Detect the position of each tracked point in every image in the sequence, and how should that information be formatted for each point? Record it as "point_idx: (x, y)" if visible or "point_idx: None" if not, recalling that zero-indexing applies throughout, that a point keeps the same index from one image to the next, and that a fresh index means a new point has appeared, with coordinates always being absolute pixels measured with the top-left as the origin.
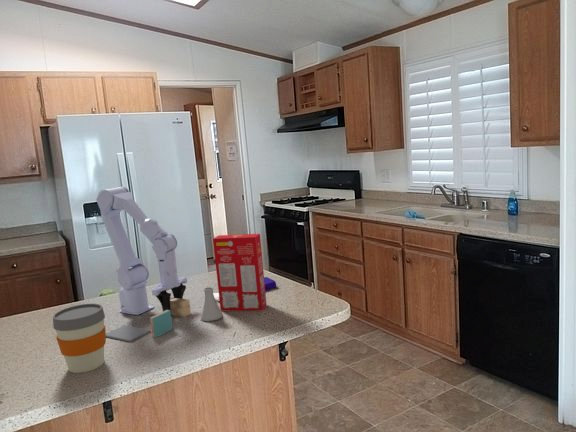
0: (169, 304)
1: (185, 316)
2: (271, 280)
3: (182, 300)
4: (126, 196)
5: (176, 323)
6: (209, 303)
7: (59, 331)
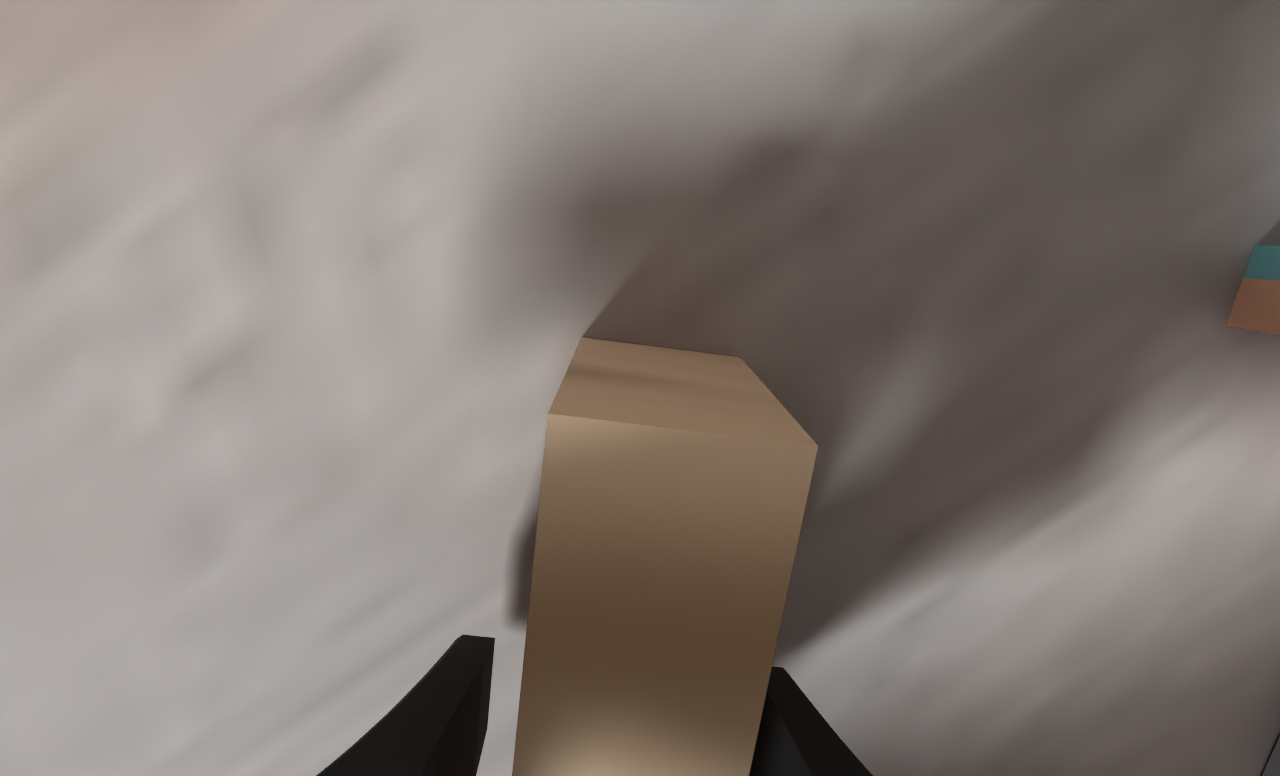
0: (820, 767)
1: (720, 355)
2: None
3: (649, 570)
4: None
5: (1034, 319)
6: None
7: None
